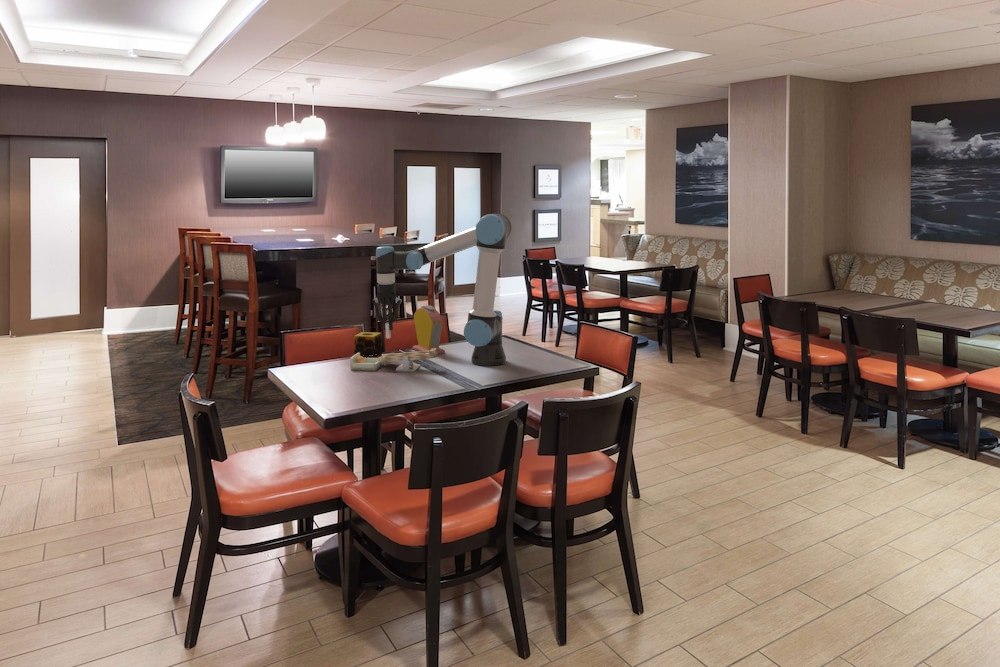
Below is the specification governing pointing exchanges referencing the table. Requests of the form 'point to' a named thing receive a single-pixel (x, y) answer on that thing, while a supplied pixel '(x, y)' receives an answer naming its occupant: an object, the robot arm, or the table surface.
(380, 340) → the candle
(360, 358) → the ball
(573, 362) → the table surface
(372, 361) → the tray
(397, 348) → the table surface
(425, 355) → the beige piece
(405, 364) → the fulcrum
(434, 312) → the pink yellow-faced device
